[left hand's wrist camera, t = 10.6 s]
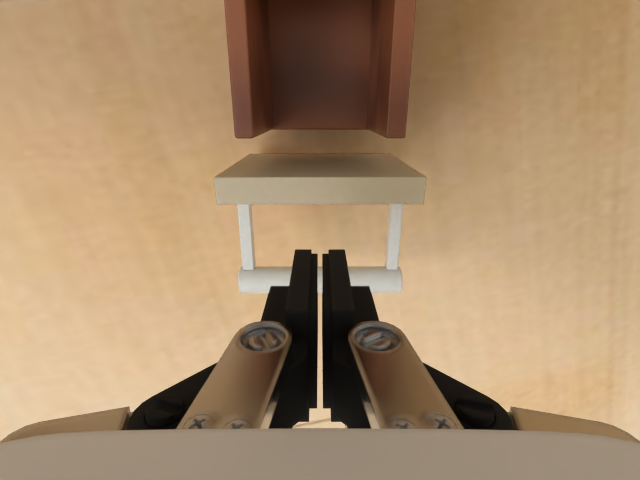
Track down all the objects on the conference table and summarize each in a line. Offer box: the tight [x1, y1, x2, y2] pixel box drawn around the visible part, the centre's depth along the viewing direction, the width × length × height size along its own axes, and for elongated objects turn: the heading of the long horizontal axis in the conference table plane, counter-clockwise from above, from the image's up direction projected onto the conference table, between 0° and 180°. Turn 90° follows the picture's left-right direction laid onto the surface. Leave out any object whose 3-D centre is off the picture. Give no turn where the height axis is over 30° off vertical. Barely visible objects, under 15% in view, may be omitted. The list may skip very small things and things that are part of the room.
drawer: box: [214, 0, 426, 293], centre depth 17 cm, size 24×9×8 cm, turn 0°
